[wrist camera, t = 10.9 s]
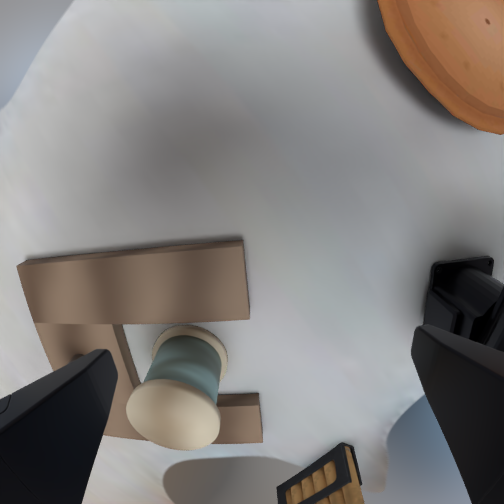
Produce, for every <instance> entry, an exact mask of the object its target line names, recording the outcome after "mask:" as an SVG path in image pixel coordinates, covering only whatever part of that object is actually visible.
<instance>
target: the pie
mask: <svg viewBox="0 0 504 504" xmlns="http://www.w3.org/2000/svg"><path fill="white" fill-rule="evenodd" d="M377 2H378V5H379V8H380V12H381V15H382V19H383V23H384V26H385V30H386V32H387V34H388V36H389V37H390V39H391V41H392V42H393V44H394V46H395V48H396V49H397V51H398V53H399V55H400V57H401V58H402V60H403V62H404V64H405V65H406V66H407V67H408V68H409V69H410V70H411V72H412V73H413V74H414V75H415V76H416V77H417V79H418V80H419V81H420V82H421V83H422V85H423V86H424V87H425V88H426V89H427V91H428V92H429V93H430V94H432V95H433V96H434V97H435V98H436V99H437V100H438V101H439V102H440V103H441V104H442V105H443V106H444V107H445V108H446V109H447V110H448V111H449V112H450V113H451V114H452V115H453V116H455V117H456V118H458V119H460V120H462V121H464V122H466V123H467V124H469V125H471V126H473V127H474V128H476V129H478V130H481V131H486V132H490V133H495V134H499V135H501V134H504V0H377Z"/></svg>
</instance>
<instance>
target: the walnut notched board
mask: <svg viewBox="0 0 504 504" xmlns="http://www.w3.org/2000/svg"><path fill="white" fill-rule="evenodd" d="M17 270H18V273H19V277H20V281H21V284H22V288H23V291H24V294H25V297H26V301H27V304H28V307H29V310H30V313H31V316H32V319H33V321H34V324H35V327H36V330H37V332H38V335H39V338H40V340H41V343H42V345H43V348H44V350H45V353H46V355H47V357H48V360H49V362H50V364H51V367H52V369H53V371H56V370H57V369H59V368H61V367H63V366H65V365H67V364H69V363H71V362H73V361H75V360H76V359H78V358H80V357H82V356H84V355H86V354H88V353H90V352H91V351H93V350H95V349H108V350H109V351H110V352H111V354H112V357H113V360H114V362H115V365H116V368H117V371H118V381H117V385H116V389H115V393H114V397H113V402H112V406H111V410H110V414H109V418H108V421H107V425H106V427H105V430H104V433H103V435H106V436H113V437H120V438H128V439H136V440H146V441H149V440H148V439H146V438H145V437H143V436H142V435H141V434H140V433H139V432H137V431H136V430H135V428H134V427H133V426H132V425H131V423H130V421H129V419H128V417H127V413H126V406H127V402H128V400H129V398H130V396H131V394H132V392H133V390H134V389H135V388H136V387H137V386H138V385H140V384H141V383H140V381H139V378H138V375H137V372H136V369H135V366H134V363H133V360H132V357H131V353H130V350H129V347H128V344H127V341H126V337H125V334H124V330H123V327H122V324H167V323H194V322H215V321H232V320H248V319H250V305H249V295H248V285H247V275H246V265H245V255H244V244H243V240H237V241H225V242H213V243H202V244H190V245H179V246H167V247H156V248H145V249H134V250H124V251H113V252H103V253H92V254H82V255H72V256H62V257H52V258H42V259H32V260H26V261H24V262H23V263H21V264H19V265H17ZM216 406H217V407H218V409H219V412H220V417H221V420H220V429H219V434H218V436H217V438H216V439H215V440H214V441H213V442H212V443H211V444H243V443H263V431H262V422H261V412H260V403H259V393H255V394H234V395H217V403H216Z"/></svg>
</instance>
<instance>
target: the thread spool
mask: <svg viewBox="0 0 504 504" xmlns="http://www.w3.org/2000/svg"><path fill="white" fill-rule="evenodd" d="M152 360H153V362H152V365H151V367H150V369H149V371H148V373H147V376H146V378H145V380H144V382H143V383H141V384H140V385H138V386H137V387H136V388H135V389H134V390H133V392H132V394H131V396H130V398H129V400H128V402H127V406H126V413H127V417H128V419H129V421H130V423H131V425H132V426H133V427H134V428H135V430H136V431H137V432H139V433H140V434H141V435H142V436H143V437H145V438H146V439H148V440H149V441H151V442H153V443H155V444H158V445H160V446H163V447H166V448H170V449H175V450H196V449H200V448H203V447H206V446H208V445H209V444H211V443H212V442H213V441H214V440H215V439H216V438H217V436H218V434H219V429H220V420H221V417H220V412H219V409H218V407H217V406H216V403H217V395H218V388H219V382H220V381H221V380H222V379H223V377H224V376H225V373H226V370H227V362H228V357H227V352H226V349H225V347H224V345H223V344H222V342H221V341H220V340H219V339H218V338H217V337H216V336H215V335H214V334H212V333H211V332H209V331H207V330H205V329H203V328H200V327H197V326H192V325H178V326H174V327H171V328H169V329H167V330H165V331H164V332H163V333H162V334H161V335H160V336H159V337H158V339H157V341H156V343H155V345H154V347H153V351H152Z"/></svg>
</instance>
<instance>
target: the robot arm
mask: <svg viewBox="0 0 504 504" xmlns="http://www.w3.org/2000/svg"><path fill="white" fill-rule="evenodd" d="M488 262H489V263H488ZM493 264H494V260H493V258H492V257H490V256H484V257H476V258H468V259H460V260H452V261H444V262H437V263H435V264H434V265H433V266H432V269H431V279H430V287H429V292H428V295H427V302H426V309H425V315H424V325H422V326H418V327H416V329H415V331H414V337H413V342H412V348H411V356H412V359H413V362H414V365H415V367H416V370H417V373H418V376H419V378H420V381H421V384H422V387H423V390H424V392H425V395H426V397H427V399H428V402H429V404H430V406H431V408H432V410H433V412H434V414H435V417H436V419H437V421H438V423H439V425H440V427H441V430H442V432H443V434H444V436H445V439H446V441H447V443H448V445H449V447H450V450H451V452H452V455H453V457H454V459H455V462H456V464H457V467H458V469H459V471H460V474H461V476H462V479H463V481H464V484H465V487H466V489H467V492H468V494H469V497H470V500H471V503H472V504H504V284H503V283H501V282H500V281H498V280H496V279H495V278H493V277H492V271H493ZM438 268H439V270H438V271H437V269H438ZM117 381H118V371H117V368H116V365H115V362H114V360H113V357H112V354H111V352H110V351H109V350H108V349H95V350H93V351H91V352H90V353H88V354H86V355H84V356H82V357H80V358H78V359H76V360H75V361H73V362H71V363H69V364H67V365H65V366H63V367H61V368H59V369H57V370H56V371H54V372H52V373H50V374H48V375H46V376H44V377H42V378H40V379H38V380H37V381H35V382H33V383H31V384H29V385H27V386H25V387H23V388H21V389H19V390H17V391H16V392H14V393H12V395H11V394H10V395H8V396H6V397H4V398H2V399H0V504H82V501H83V497H84V494H85V490H86V487H87V483H88V480H89V477H90V473H91V470H92V467H93V464H94V461H95V458H96V454H97V451H98V448H99V445H100V442H101V439H102V436H103V433H104V430H105V427H106V425H107V421H108V418H109V414H110V410H111V406H112V402H113V397H114V393H115V389H116V385H117Z"/></svg>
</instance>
